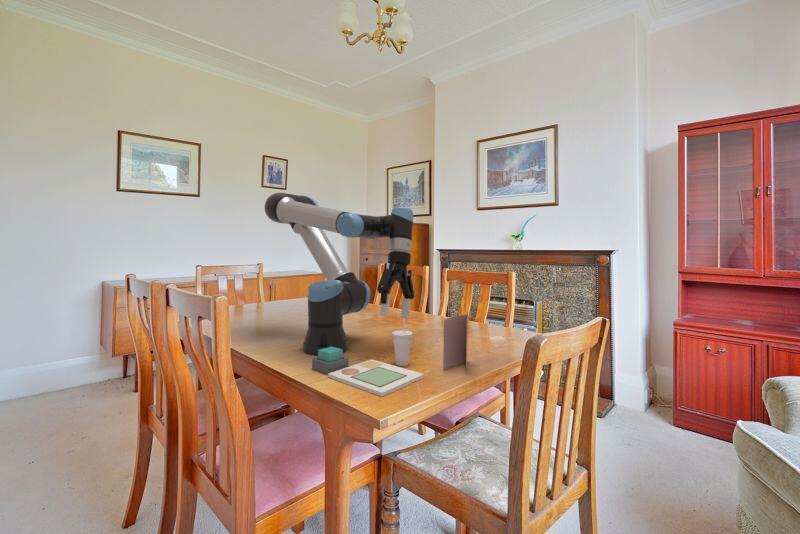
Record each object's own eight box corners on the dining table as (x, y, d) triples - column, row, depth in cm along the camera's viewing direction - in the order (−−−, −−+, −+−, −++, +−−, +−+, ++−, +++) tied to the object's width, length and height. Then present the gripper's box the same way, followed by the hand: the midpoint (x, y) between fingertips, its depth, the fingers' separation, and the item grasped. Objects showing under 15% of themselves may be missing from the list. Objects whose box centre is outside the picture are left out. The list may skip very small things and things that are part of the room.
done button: (318, 360, 109) (318, 350, 108) (331, 356, 112) (331, 346, 112) (329, 363, 105) (329, 353, 105) (342, 359, 109) (342, 349, 109)
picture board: (328, 377, 102) (328, 373, 102) (371, 362, 115) (371, 358, 115) (382, 396, 89) (382, 392, 89) (424, 377, 102) (424, 373, 102)
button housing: (312, 369, 109) (312, 358, 108) (332, 362, 114) (332, 353, 114) (328, 374, 104) (328, 364, 104) (348, 368, 109) (348, 358, 109)
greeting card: (464, 361, 117) (465, 313, 116) (484, 367, 112) (485, 317, 111) (440, 369, 109) (441, 318, 108) (461, 376, 104) (462, 322, 103)
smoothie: (410, 368, 110) (410, 321, 109) (389, 366, 111) (389, 320, 110) (414, 361, 116) (414, 317, 115) (393, 360, 117) (394, 316, 117)
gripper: (389, 243, 113) (384, 313, 109) (426, 259, 134) (422, 319, 130) (369, 244, 117) (363, 313, 113) (407, 260, 138) (403, 318, 134)
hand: (395, 316), depth 122 cm, fingers open, 13 cm apart
